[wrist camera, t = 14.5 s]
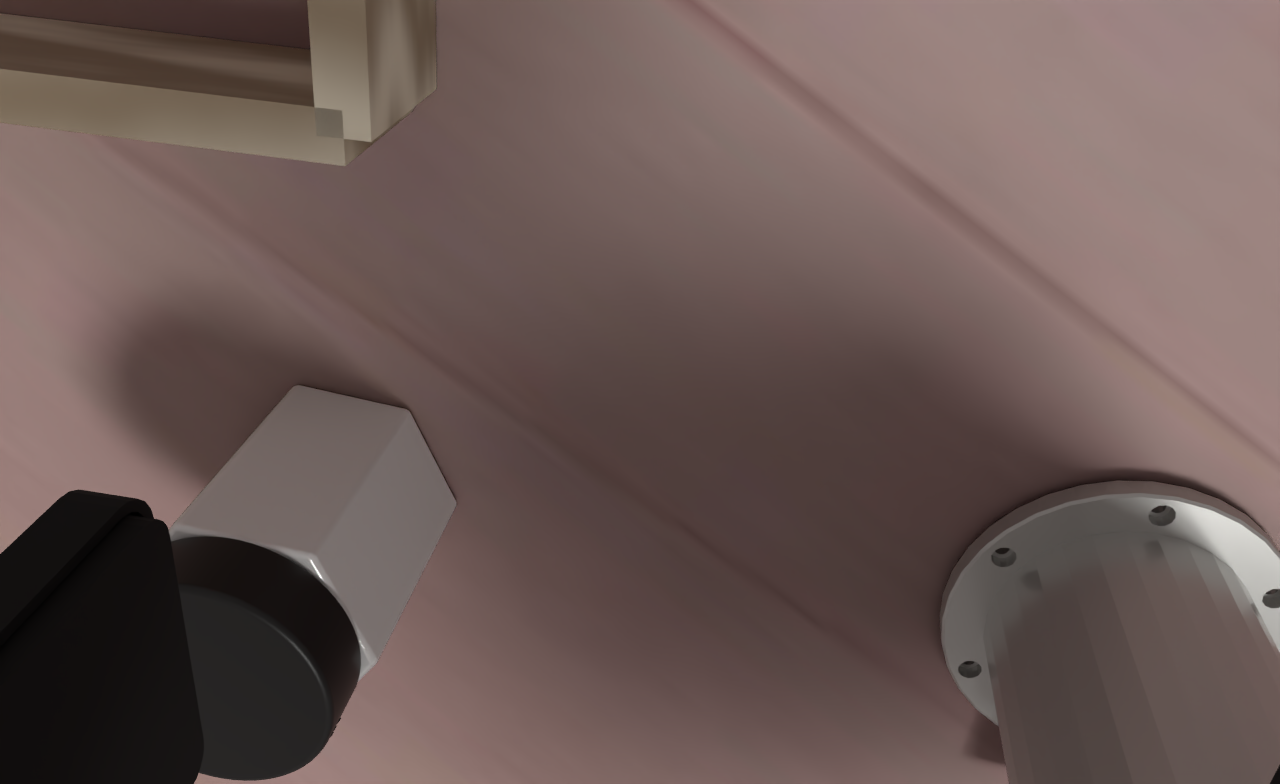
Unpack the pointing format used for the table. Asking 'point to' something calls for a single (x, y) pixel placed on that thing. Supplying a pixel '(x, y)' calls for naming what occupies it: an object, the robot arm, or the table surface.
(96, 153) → the table surface
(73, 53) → the corner wall
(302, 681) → the jar
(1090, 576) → the robot arm
